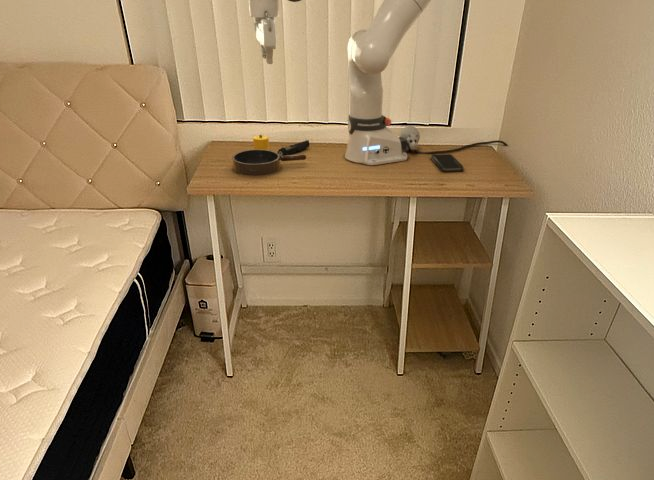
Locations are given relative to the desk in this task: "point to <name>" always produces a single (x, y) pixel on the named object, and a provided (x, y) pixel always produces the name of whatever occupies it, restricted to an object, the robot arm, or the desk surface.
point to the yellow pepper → (261, 142)
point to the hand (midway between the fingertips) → (267, 60)
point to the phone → (447, 163)
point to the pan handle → (293, 157)
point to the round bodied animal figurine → (410, 137)
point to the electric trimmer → (293, 148)
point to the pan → (256, 162)
